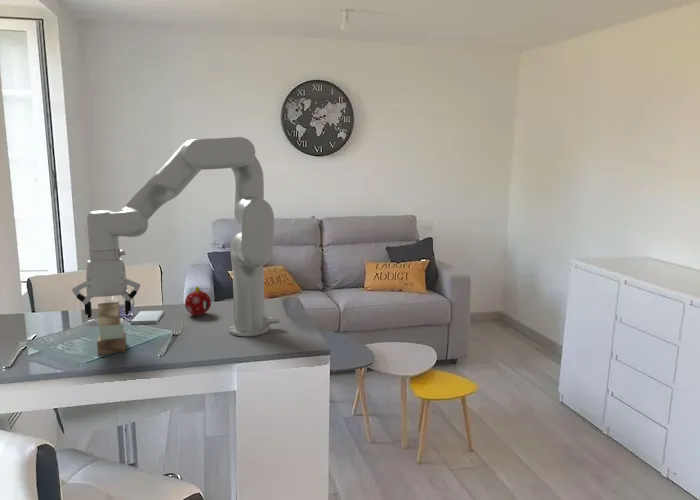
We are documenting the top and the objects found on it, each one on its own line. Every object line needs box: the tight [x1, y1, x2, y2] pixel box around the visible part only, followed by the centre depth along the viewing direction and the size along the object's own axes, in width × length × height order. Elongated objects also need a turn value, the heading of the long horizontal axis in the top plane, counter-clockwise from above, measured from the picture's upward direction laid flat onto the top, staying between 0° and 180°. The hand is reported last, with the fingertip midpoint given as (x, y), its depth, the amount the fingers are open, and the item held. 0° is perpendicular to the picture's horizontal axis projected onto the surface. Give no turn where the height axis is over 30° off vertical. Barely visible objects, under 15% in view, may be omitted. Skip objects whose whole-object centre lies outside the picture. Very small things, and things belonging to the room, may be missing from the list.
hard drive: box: [130, 310, 165, 325], centre depth 184 cm, size 2×8×12 cm
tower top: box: [98, 317, 125, 340], centre depth 155 cm, size 6×6×4 cm
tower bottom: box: [96, 330, 127, 355], centre depth 155 cm, size 7×7×4 cm
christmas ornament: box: [184, 286, 212, 316], centre depth 188 cm, size 9×9×10 cm
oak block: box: [97, 299, 121, 326], centre depth 153 cm, size 5×5×6 cm
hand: (108, 315), depth 153 cm, fingers open, 9 cm apart
